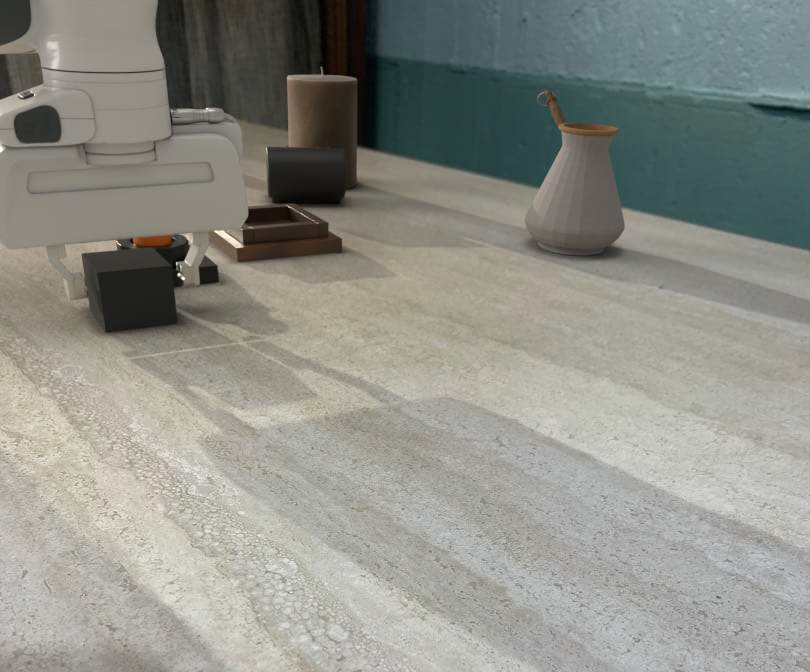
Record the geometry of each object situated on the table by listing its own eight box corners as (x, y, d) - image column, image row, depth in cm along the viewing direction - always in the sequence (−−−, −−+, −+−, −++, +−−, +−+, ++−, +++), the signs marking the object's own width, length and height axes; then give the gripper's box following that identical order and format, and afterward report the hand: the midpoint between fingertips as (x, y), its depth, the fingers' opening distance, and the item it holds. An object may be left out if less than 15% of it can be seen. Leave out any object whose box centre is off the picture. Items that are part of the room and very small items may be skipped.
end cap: (269, 207, 111) (266, 150, 107) (266, 195, 117) (264, 141, 113) (346, 208, 113) (346, 152, 109) (340, 196, 119) (340, 142, 115)
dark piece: (114, 294, 80) (108, 255, 78) (95, 270, 85) (89, 234, 84) (219, 283, 84) (216, 246, 82) (194, 261, 90) (191, 226, 88)
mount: (237, 262, 90) (235, 233, 88) (201, 234, 99) (199, 207, 97) (342, 252, 95) (342, 224, 93) (299, 226, 104) (298, 200, 102)
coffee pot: (636, 260, 98) (663, 113, 90) (538, 260, 96) (558, 110, 88) (572, 215, 115) (590, 89, 107) (489, 215, 113) (501, 86, 105)
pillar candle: (349, 193, 121) (350, 71, 112) (281, 188, 122) (277, 67, 113) (362, 180, 129) (364, 65, 120) (298, 175, 130) (296, 61, 121)
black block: (106, 333, 71) (96, 272, 68) (90, 311, 76) (81, 253, 73) (177, 324, 74) (171, 265, 71) (158, 303, 78) (152, 247, 75)
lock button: (138, 250, 81) (136, 231, 80) (129, 241, 84) (126, 222, 83) (176, 247, 82) (175, 228, 82) (166, 238, 85) (164, 219, 84)
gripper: (227, 102, 73) (238, 268, 80) (-39, 109, 64) (2, 294, 72) (254, 112, 68) (263, 287, 76) (-28, 121, 59) (14, 317, 67)
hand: (134, 290), depth 74 cm, fingers open, 8 cm apart
